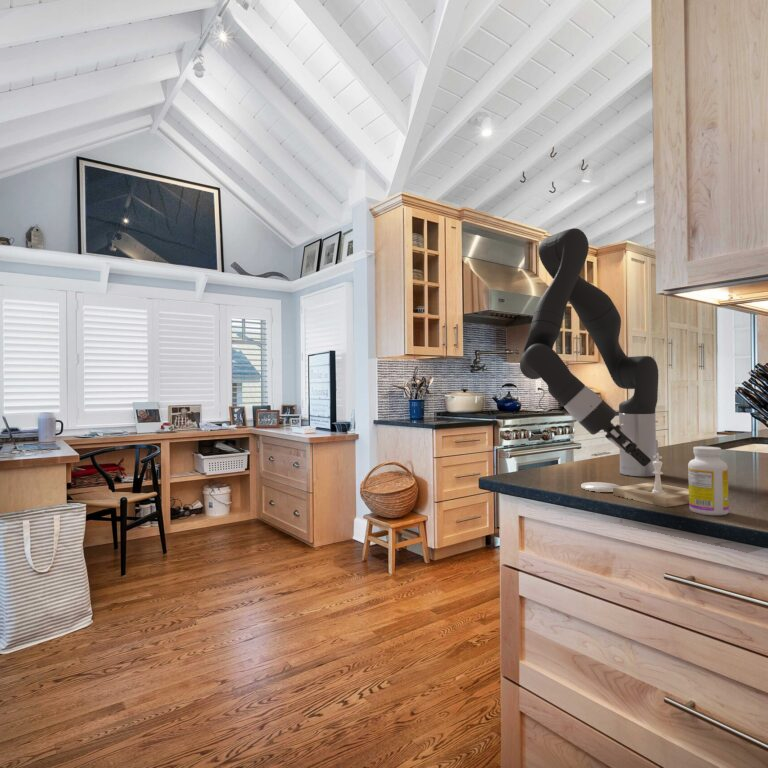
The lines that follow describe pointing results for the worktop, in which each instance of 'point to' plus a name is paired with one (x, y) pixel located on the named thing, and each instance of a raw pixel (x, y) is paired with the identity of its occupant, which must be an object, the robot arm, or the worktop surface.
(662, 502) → the pocket block
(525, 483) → the worktop surface
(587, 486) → the coaster
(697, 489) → the supplement bottle
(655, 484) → the chess piece
